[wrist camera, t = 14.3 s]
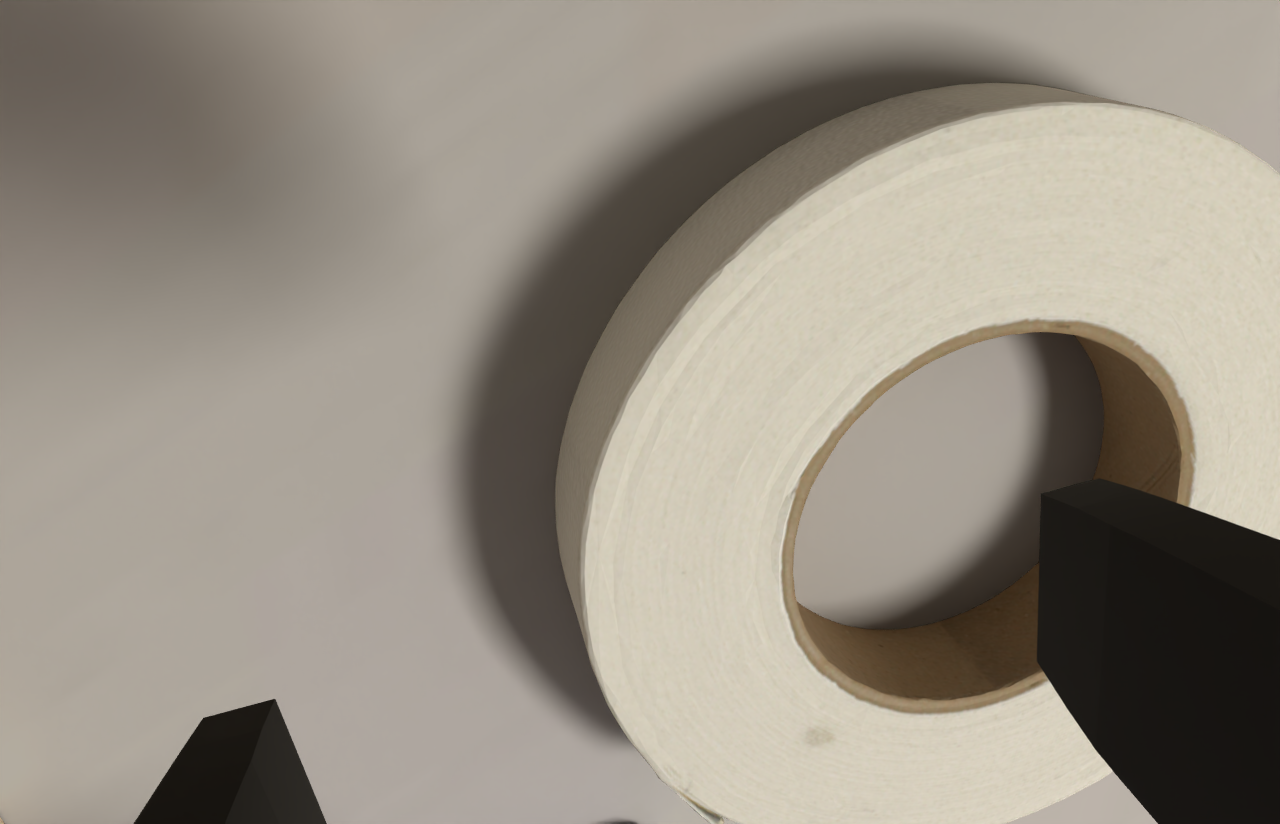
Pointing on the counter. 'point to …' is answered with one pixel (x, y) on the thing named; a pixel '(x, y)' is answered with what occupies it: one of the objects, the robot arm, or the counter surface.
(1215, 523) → the robot arm
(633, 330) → the roll of tape
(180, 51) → the counter surface
